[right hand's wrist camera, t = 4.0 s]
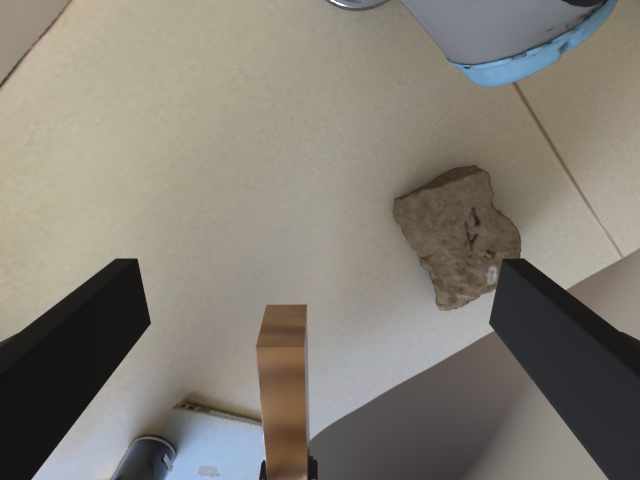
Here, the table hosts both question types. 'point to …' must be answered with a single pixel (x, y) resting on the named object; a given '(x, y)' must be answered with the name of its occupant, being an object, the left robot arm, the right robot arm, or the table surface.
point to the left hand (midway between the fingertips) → (290, 459)
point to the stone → (458, 234)
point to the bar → (284, 391)
